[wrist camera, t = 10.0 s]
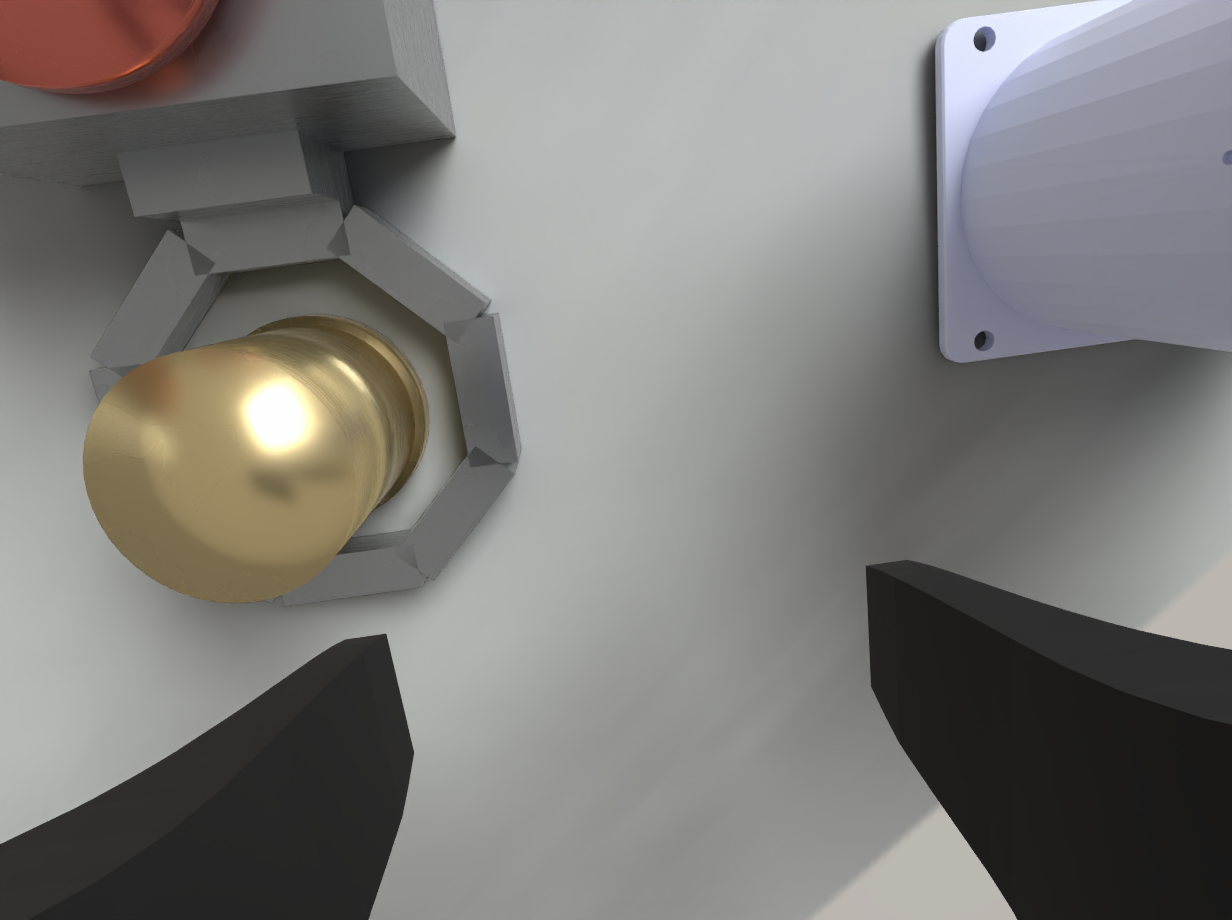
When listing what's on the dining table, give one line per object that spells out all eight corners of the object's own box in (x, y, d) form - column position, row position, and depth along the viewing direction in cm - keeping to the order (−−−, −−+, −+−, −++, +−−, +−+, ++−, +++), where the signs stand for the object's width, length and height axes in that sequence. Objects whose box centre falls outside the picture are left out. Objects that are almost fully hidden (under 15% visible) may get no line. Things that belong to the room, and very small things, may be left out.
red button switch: (390, -332, 15) (243, -800, 9) (538, 553, 20) (520, 696, 14) (-77, -274, 15) (-601, -706, 8) (192, 602, 20) (0, 770, 14)
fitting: (415, 307, 19) (342, 328, 13) (441, 502, 20) (386, 601, 14) (205, 321, 19) (36, 349, 13) (246, 518, 20) (110, 623, 14)
